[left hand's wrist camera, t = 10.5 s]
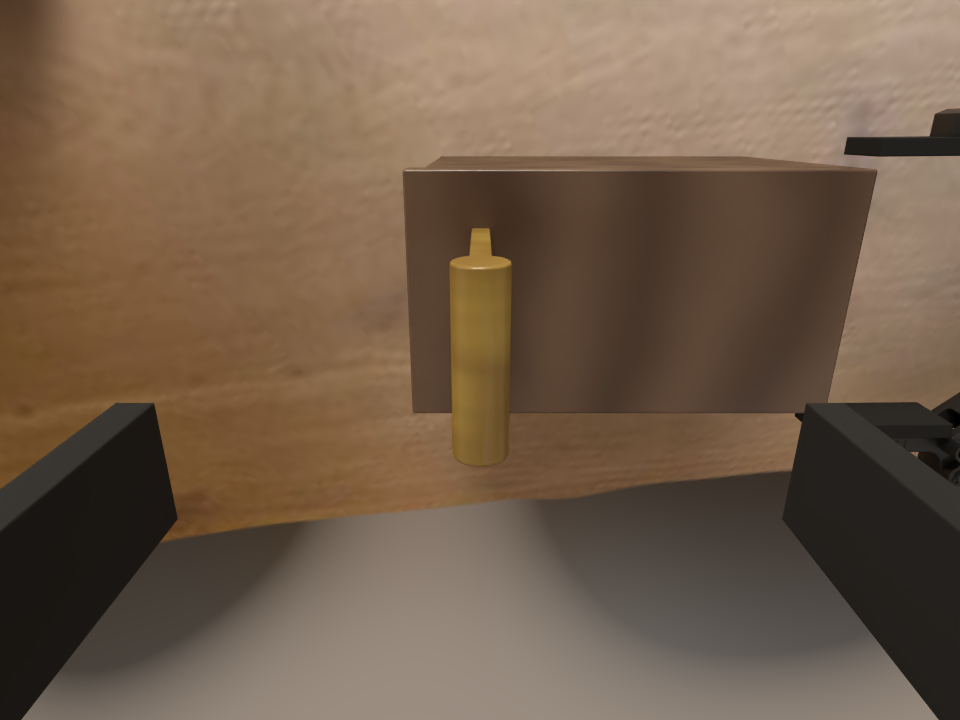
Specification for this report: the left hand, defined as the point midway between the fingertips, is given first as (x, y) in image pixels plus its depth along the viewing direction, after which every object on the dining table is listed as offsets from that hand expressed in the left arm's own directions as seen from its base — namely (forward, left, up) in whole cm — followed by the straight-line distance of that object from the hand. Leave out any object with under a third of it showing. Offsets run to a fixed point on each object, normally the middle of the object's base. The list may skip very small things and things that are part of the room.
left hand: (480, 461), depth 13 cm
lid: (+6, 0, -14) cm, 15 cm away
